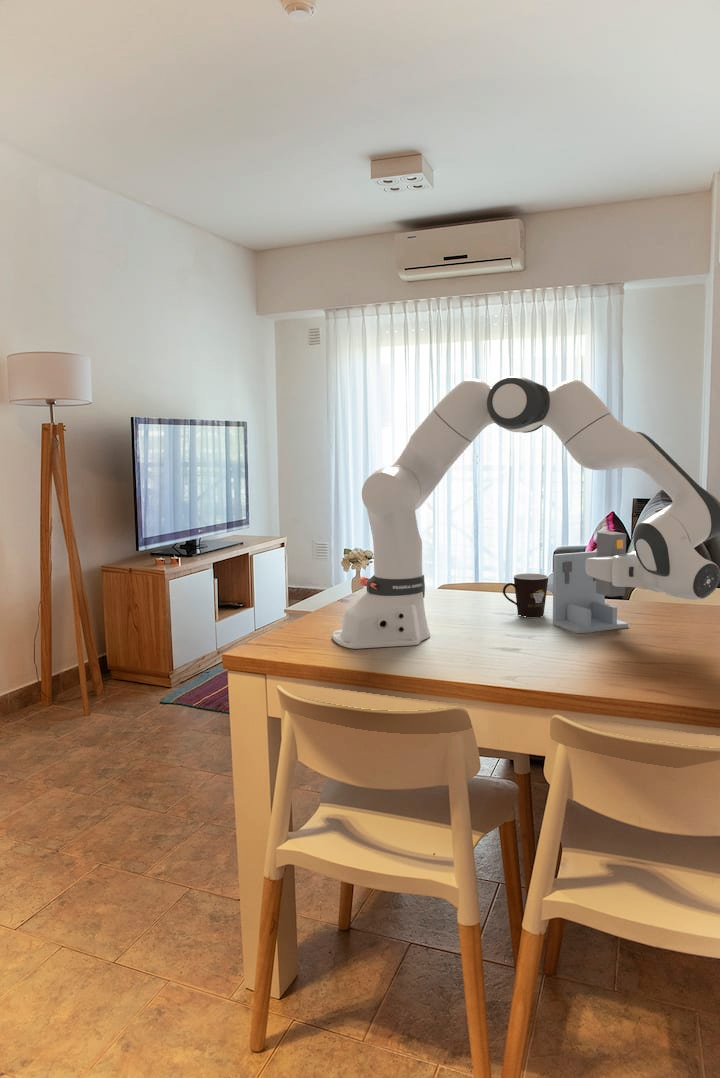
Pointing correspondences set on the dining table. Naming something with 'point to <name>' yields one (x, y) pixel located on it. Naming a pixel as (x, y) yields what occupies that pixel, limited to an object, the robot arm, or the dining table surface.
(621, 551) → the grey tall rectangular block
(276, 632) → the dining table surface
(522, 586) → the coffee mug
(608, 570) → the robot arm
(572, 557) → the grey l-shaped stand
